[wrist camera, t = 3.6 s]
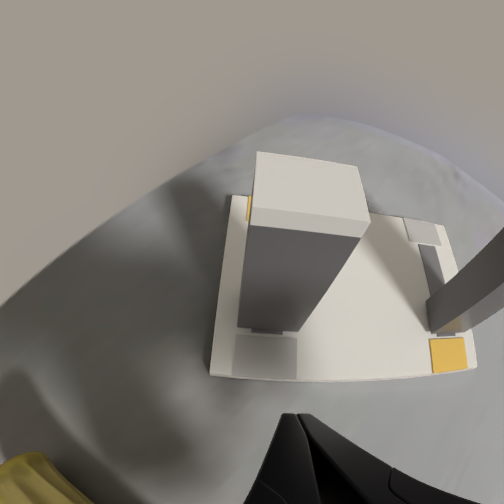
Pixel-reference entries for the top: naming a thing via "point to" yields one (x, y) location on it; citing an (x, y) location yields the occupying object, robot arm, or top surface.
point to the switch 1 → (297, 237)
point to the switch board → (349, 312)
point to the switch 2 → (470, 292)
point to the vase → (36, 482)
